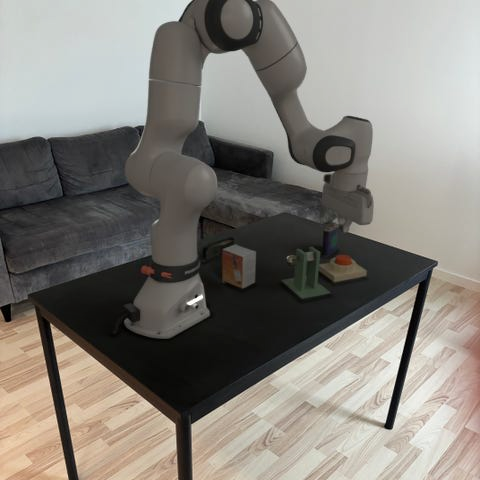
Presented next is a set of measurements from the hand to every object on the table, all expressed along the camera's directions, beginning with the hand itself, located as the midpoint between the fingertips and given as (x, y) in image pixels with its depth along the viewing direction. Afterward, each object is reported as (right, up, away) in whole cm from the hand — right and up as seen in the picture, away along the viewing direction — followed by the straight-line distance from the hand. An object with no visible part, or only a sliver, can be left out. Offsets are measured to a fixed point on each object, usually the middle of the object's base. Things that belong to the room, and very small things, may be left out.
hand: (343, 230), depth 135 cm
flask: (0, -3, +22) cm, 23 cm away
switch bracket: (-11, -17, -1) cm, 20 cm away
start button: (+1, -9, +5) cm, 10 cm away
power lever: (-12, -10, -1) cm, 16 cm away
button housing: (+1, -12, +7) cm, 14 cm away
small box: (-30, -15, +2) cm, 33 cm away
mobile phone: (-36, -5, +20) cm, 42 cm away
